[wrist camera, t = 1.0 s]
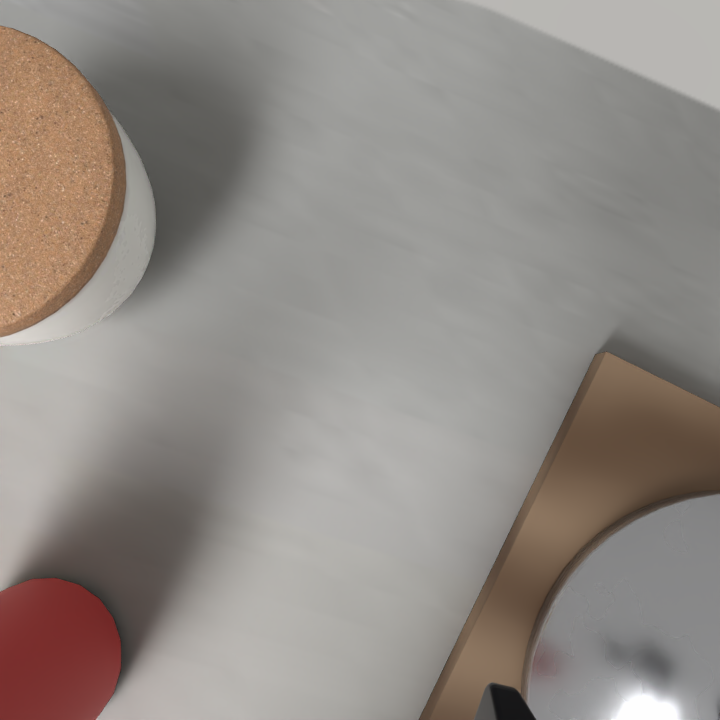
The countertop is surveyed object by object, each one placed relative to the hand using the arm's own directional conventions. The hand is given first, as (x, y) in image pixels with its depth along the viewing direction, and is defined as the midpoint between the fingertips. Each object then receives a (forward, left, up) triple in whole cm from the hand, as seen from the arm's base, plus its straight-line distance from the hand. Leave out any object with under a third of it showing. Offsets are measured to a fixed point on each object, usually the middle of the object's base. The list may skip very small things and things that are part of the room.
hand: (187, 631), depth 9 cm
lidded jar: (+5, +15, -17) cm, 23 cm away
